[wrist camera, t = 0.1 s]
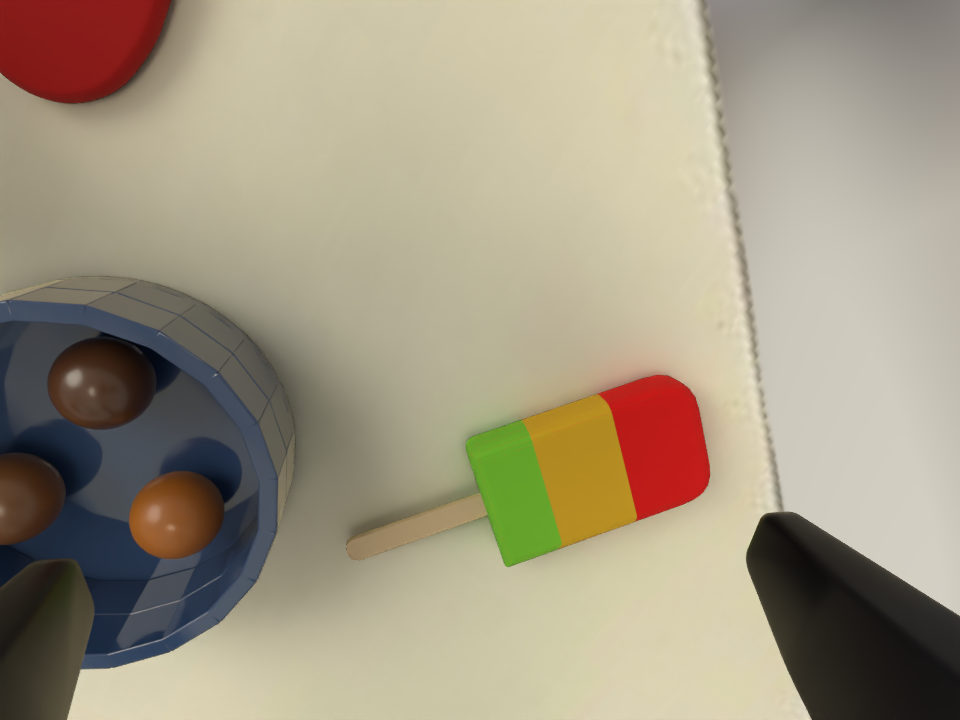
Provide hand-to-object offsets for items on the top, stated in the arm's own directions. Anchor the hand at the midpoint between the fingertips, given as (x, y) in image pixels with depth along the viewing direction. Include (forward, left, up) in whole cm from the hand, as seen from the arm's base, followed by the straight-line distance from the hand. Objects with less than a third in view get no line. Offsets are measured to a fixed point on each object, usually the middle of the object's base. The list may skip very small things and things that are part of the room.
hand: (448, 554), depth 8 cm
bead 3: (-10, +2, -13) cm, 17 cm away
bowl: (-10, +5, -15) cm, 19 cm away
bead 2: (-8, +6, -13) cm, 17 cm away
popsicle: (-2, -8, -16) cm, 18 cm away
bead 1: (-13, +6, -13) cm, 20 cm away
